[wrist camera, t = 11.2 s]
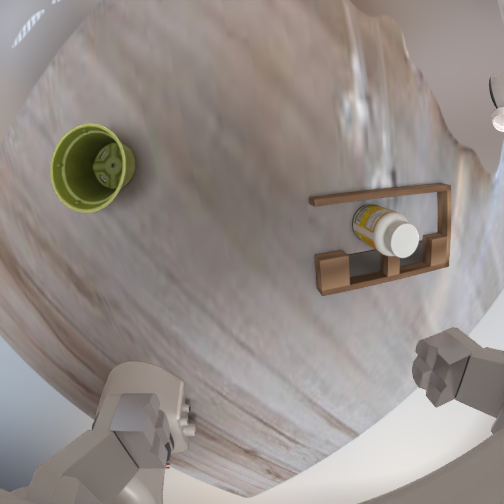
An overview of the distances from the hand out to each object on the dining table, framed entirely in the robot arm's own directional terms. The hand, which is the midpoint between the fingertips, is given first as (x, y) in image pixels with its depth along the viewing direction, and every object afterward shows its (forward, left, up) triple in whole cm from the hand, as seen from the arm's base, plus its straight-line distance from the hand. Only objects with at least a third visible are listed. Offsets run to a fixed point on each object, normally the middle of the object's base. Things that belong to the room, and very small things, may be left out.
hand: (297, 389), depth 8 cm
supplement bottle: (-4, -17, -31) cm, 36 cm away
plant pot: (+9, +15, -31) cm, 36 cm away
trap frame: (-6, -20, -31) cm, 37 cm away
